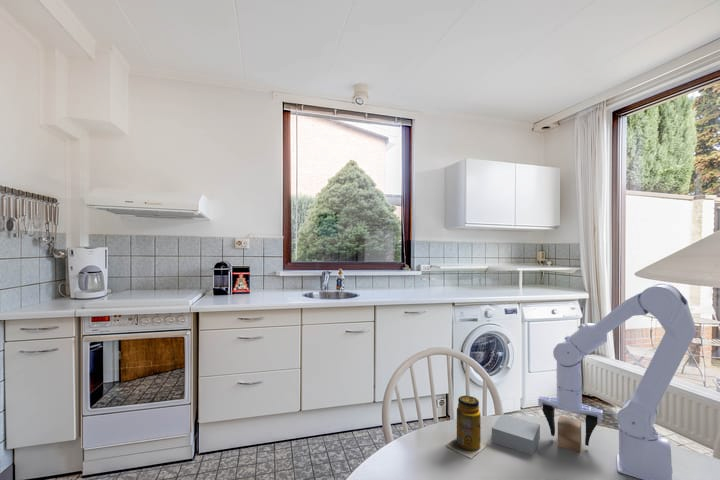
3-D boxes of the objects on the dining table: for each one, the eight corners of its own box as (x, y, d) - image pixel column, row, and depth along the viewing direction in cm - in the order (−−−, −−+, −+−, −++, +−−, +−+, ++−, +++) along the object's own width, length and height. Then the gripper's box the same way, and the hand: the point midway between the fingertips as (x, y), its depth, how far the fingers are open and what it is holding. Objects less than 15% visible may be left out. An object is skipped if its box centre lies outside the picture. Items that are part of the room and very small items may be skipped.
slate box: (540, 439, 94) (539, 424, 94) (532, 456, 86) (532, 440, 86) (501, 427, 100) (501, 413, 100) (491, 442, 92) (491, 427, 92)
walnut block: (581, 443, 91) (581, 420, 91) (580, 452, 87) (579, 428, 87) (559, 437, 94) (559, 415, 94) (557, 445, 90) (557, 422, 90)
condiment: (487, 445, 90) (486, 399, 90) (471, 459, 84) (471, 409, 84) (462, 434, 95) (461, 391, 95) (445, 446, 89) (445, 400, 89)
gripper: (602, 388, 90) (603, 441, 89) (540, 376, 98) (541, 424, 98) (602, 398, 84) (603, 454, 84) (536, 384, 93) (537, 435, 92)
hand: (569, 438), depth 90 cm, fingers open, 7 cm apart
